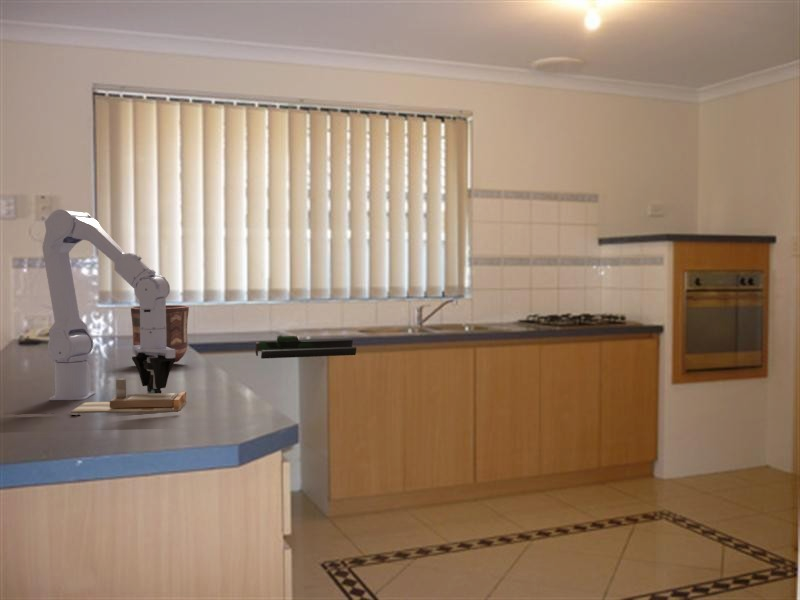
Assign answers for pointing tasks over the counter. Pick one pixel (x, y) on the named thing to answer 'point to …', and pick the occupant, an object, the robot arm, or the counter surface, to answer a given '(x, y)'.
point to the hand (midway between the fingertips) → (153, 386)
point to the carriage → (140, 398)
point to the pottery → (167, 328)
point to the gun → (304, 348)
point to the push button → (151, 376)
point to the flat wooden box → (105, 407)
